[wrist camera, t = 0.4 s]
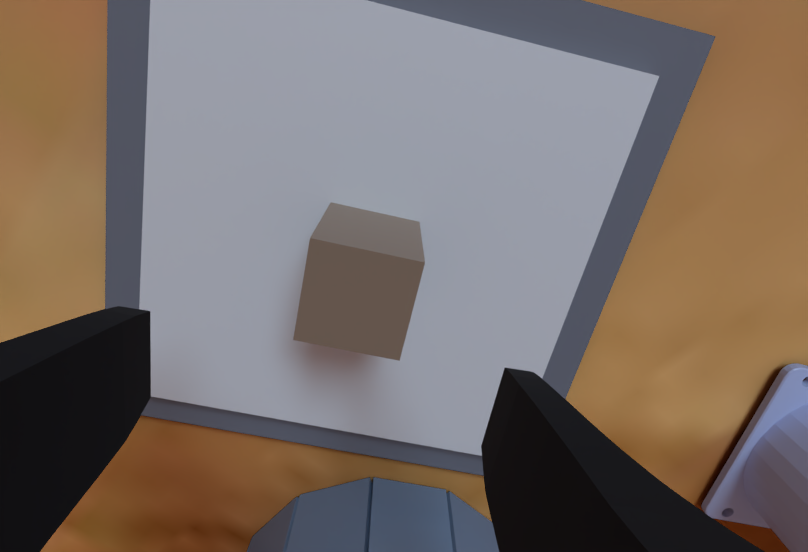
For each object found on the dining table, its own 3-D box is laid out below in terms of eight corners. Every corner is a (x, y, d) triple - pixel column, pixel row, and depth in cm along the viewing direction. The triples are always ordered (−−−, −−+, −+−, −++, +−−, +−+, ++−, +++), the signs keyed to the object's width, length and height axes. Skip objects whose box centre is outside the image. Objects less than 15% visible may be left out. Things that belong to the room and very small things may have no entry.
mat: (707, 37, 15) (715, 36, 15) (527, 476, 22) (530, 483, 21) (116, -122, 14) (108, -128, 13) (109, 402, 20) (104, 408, 20)
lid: (650, 76, 15) (746, 73, 11) (507, 450, 21) (535, 546, 16) (162, -50, 14) (57, -109, 10) (143, 384, 19) (70, 470, 15)
